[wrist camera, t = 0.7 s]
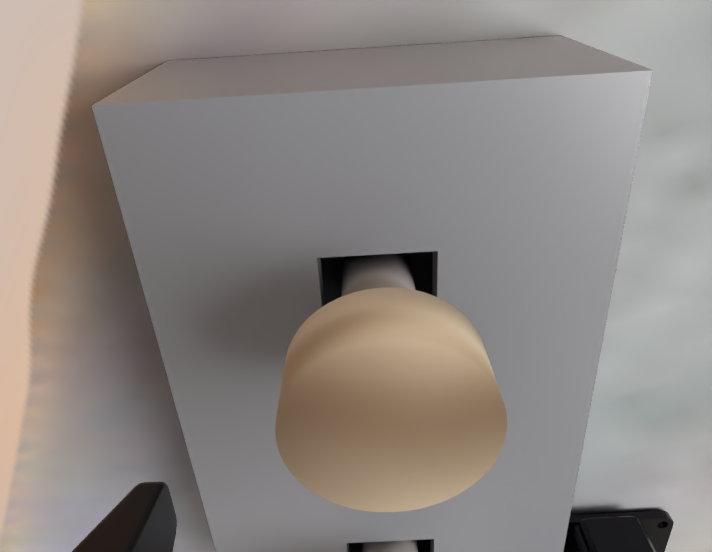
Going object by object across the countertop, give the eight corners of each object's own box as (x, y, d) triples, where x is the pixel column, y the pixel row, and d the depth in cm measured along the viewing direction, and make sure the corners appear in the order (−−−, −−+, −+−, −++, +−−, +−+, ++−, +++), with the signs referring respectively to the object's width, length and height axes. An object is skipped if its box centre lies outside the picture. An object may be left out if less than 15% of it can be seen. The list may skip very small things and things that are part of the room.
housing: (508, 518, 28) (545, 647, 23) (265, 530, 28) (246, 660, 23) (561, 35, 17) (652, 70, 12) (168, 60, 18) (91, 105, 12)
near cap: (450, 327, 18) (499, 506, 12) (308, 335, 18) (289, 517, 12) (453, 193, 16) (515, 333, 10) (292, 203, 16) (259, 347, 10)
